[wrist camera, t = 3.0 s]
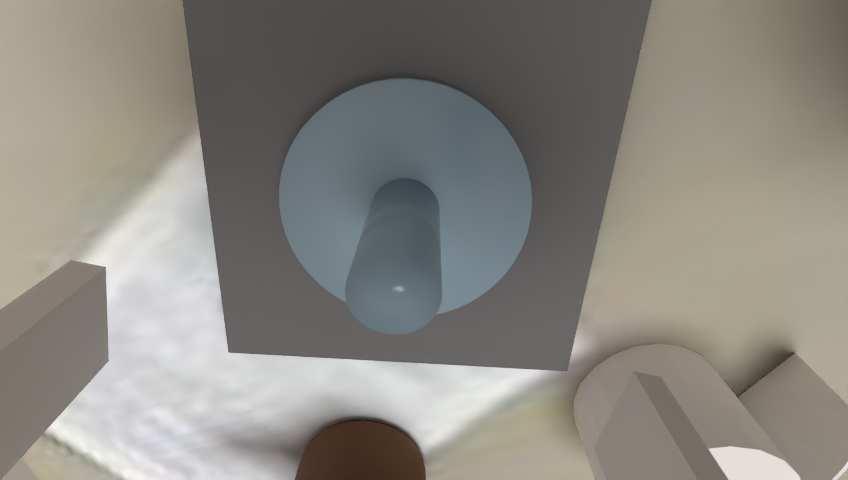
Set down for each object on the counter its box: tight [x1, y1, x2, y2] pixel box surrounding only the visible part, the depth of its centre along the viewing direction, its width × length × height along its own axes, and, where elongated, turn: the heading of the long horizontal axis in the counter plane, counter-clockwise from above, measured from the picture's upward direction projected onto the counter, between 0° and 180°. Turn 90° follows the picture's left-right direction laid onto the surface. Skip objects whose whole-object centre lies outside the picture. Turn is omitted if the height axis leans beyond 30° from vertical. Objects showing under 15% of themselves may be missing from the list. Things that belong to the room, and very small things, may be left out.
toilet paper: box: [573, 343, 848, 480], centre depth 25 cm, size 8×11×7 cm
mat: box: [183, 0, 652, 371], centre depth 23 cm, size 18×18×1 cm
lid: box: [279, 77, 532, 334], centre depth 19 cm, size 11×11×8 cm
